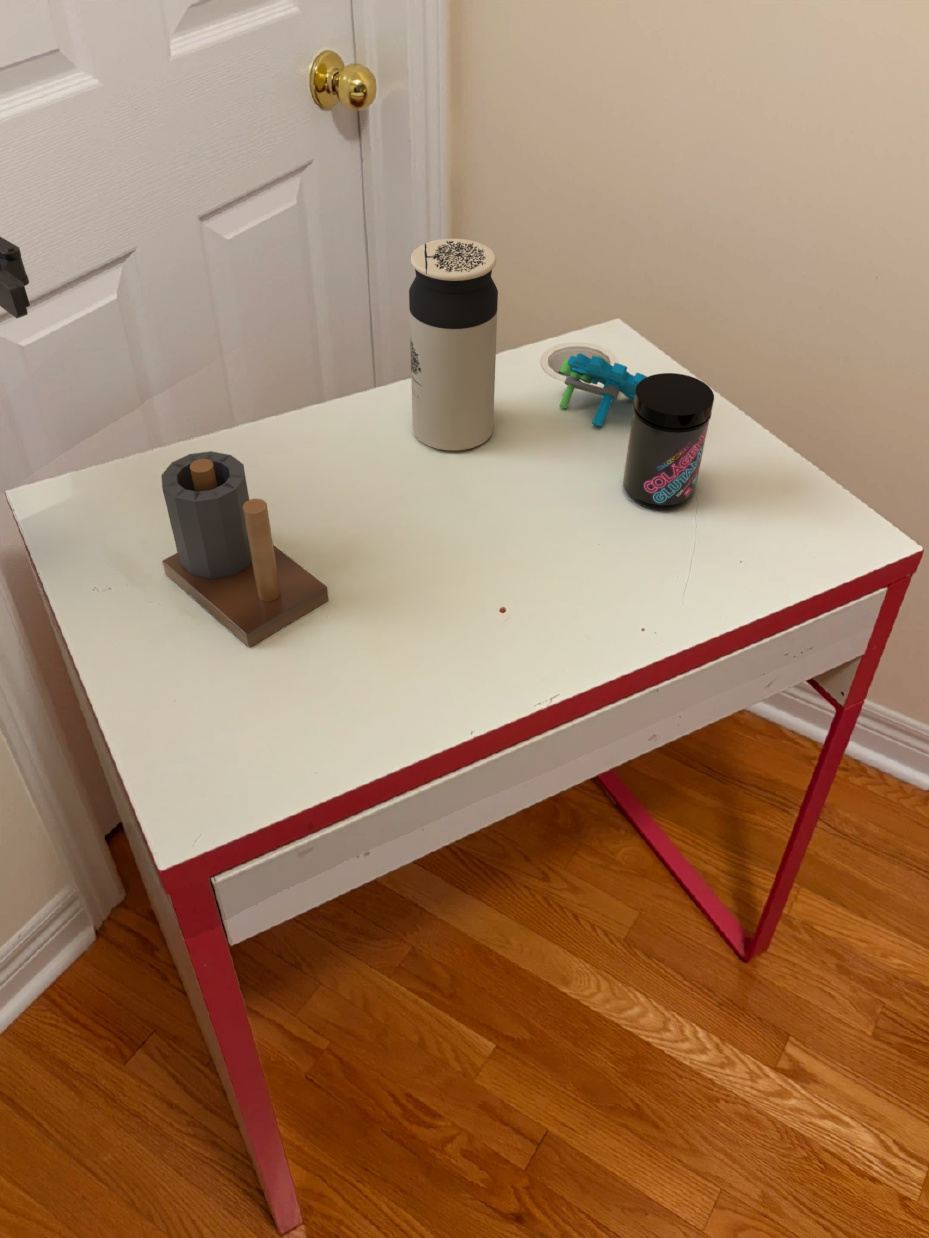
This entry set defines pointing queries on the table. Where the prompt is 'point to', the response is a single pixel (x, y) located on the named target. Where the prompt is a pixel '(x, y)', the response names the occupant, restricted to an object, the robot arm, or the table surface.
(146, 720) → the table surface
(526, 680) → the table surface
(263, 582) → the rack
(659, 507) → the supplement container
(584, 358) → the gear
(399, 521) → the table surface
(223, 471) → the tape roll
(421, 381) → the travel mug
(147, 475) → the table surface
